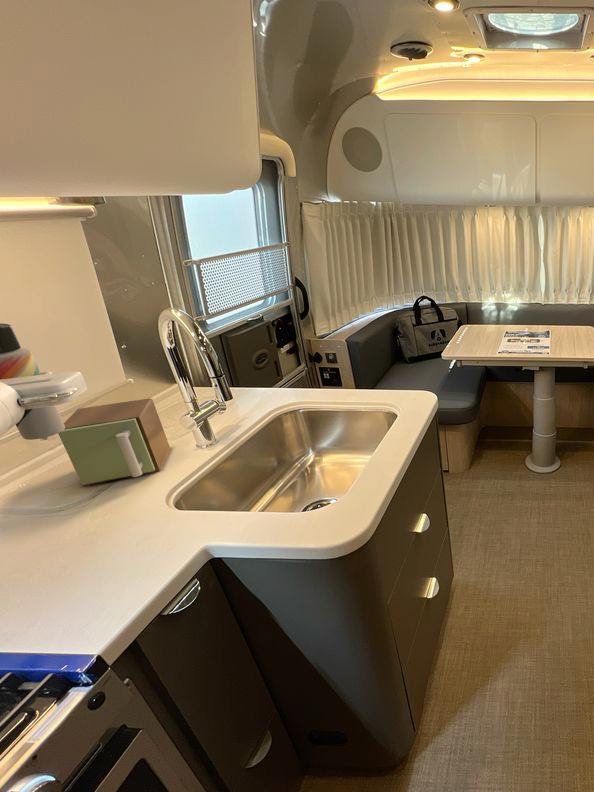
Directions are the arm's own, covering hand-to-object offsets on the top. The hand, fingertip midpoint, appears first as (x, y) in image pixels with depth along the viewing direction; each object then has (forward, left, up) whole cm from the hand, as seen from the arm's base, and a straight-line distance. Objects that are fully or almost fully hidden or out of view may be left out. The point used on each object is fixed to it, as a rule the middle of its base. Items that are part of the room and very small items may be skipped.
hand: (22, 379), depth 83 cm
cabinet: (+2, +22, -30) cm, 37 cm away
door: (+2, +13, -29) cm, 31 cm away
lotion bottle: (0, -1, -10) cm, 10 cm away
